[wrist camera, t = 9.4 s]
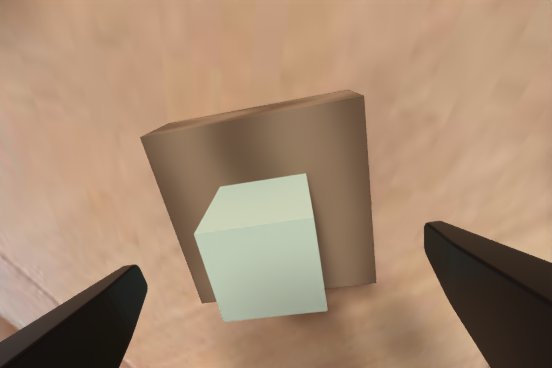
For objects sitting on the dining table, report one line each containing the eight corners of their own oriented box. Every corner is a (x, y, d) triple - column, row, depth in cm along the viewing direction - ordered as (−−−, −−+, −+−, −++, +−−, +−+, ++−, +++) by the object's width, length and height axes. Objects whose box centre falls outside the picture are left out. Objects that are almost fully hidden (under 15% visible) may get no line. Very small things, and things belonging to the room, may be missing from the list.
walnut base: (348, 89, 18) (363, 95, 14) (361, 247, 22) (376, 282, 19) (168, 123, 19) (140, 137, 15) (215, 266, 24) (202, 303, 20)
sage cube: (306, 173, 16) (313, 217, 11) (317, 247, 18) (327, 310, 13) (219, 186, 16) (193, 234, 12) (239, 257, 18) (223, 322, 14)
